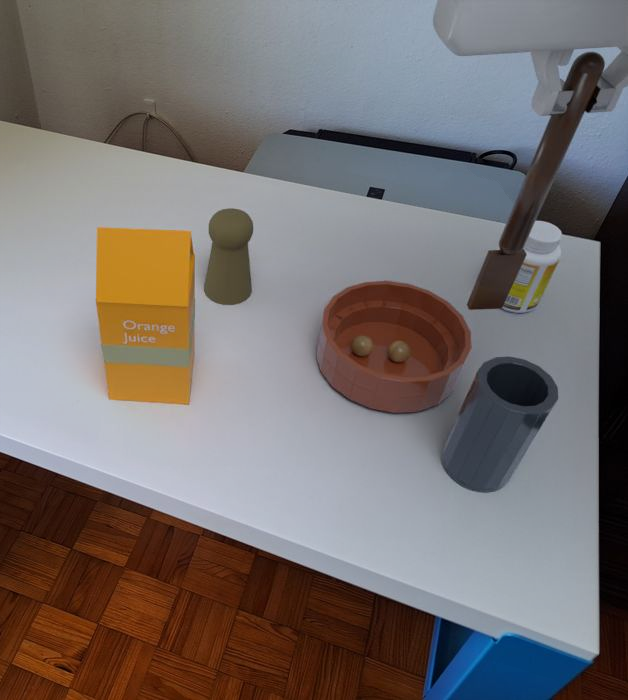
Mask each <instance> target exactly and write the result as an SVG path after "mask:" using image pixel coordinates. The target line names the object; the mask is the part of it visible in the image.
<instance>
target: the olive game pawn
mask: <svg viewBox="0 0 628 700" xmlns="http://www.w3.org/2000/svg"><path fill="white" fill-rule="evenodd" d="M208 235H209V238H210V240H211V247H210V252H209V258H208V263H207V268H206V269H207V270H206V275H205V280H204V285H203V290H204V291H203V292H204V294H205V296H206V297H207V298H208V299H209V300H210V301H212V302H214V303H216V304H218V305H219V304H220V305H224V306H234V305H238V304H239V305H240V304H241V303H243V302H245V301H247V299H249V298H250V297H251V295H252V292H253V287H252V286H253V285H252V273H251V264H250V251H249V242H250V241H251V239H252V237H253V235H254V221H253V220H252V217H250V214H248V213H247V212H246V211H244V210H243V209H238V208H233V207H232V208H231V207H230V208H222V209H220V210H218V211H216V212H215V213H214V214H213V215H212V216H211V217H210V220H209V221H208Z"/></svg>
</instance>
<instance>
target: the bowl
mask: <svg viewBox="0 0 628 700" xmlns="http://www.w3.org/2000/svg"><path fill="white" fill-rule="evenodd" d="M322 313H323V314H322V318H321V319H322V320H321V324H320V329H319V335H318V341H317V346H316V352H315V357H316V359H317V363H318V366H319V367H318V368H319V370H320V373H321V374H322V375H323V376H324V378H325V379H326V381H327V382H328V383H329V384H330V385H331V387H332V388H333V389H335V390H336V391H337V392H339V393H340V394H342V395H343V396H344V397H346V398H347V399H348V400H350V401H353V402H355V403H357V404H359V405H362V406H363V407H366V408H369V409H371V410H376V411H381V412H388V413H395V414H399V413H400V414H401V413H415V412H416V413H417V412H421V411H424V410H426V409H429V408H432V407H435V406H437V405H440V403H442V402H443V401H444V400H445V399H446V398H448V397H449V396H450V395H452V393H453V391H454V389H455V388H456V387H455V386H456V385H457V383H458V380H459V378H460V376H461V374H462V372H463V369H464V367H465V364H466V361H467V359H468V357H469V354H470V353H471V351H472V332H471V330H470V327H469V325H468V323H467V322H466V319H465V318H464V316H463V314H461V313H460V312H459V311H458V310H457V309H456V308H455V306H453V305H452V304H451V303H450V302H449V301H447V300H446V299H445V298H443V297H440V296H439V295H438V294H436V293H434V292H432V291H431V290H429V289H426V288H423V287H419V286H417V285H414V284H411V283H406V282H399V281H392V280H375V281H364V282H361V283H357V284H354V285H351V286H347V287H346V288H344V289H343V290H341V291H339V292H338V293H336V294H335V295H333V296H332V297H331V299H330V300H329V302H328V303H327V305H326V306H325V307H324V308H323V312H322ZM358 335H366V336H368V337H370V338H371V340H372V341H373V349H372V351H371V353H370V354H368V355H366V356H358V355H356V354H355V353H354V352H353V351H352V349H351V342H352V340H353V339H354V338H355V337H356V336H358ZM395 341H403V342H406V343H407V344H408V345H409V347H410V350H411V354H410V356H409V358H408V359H407V360H406V361H404V362H394V361H393V360H391V359H390V358H389V356H388V347H389V346H390V344H391V343H393V342H395Z"/></svg>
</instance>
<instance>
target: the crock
mask: <svg viewBox="0 0 628 700" xmlns="http://www.w3.org/2000/svg"><path fill="white" fill-rule="evenodd" d="M558 401H559V388H558V385H557V383H556V382H555V380H554V379H553V377H552V376H551V375H550V374H549V373H548V372H546V371H545V370H544V369H543V368H542V367H541V366H539V365H537V364H536V363H533V362H531V361H529V360H527V359H524V358H519V357H514V356H495V357H493V358H491V359H488V360H486V361H484V362H483V363H482V364H481V366H480V367H479V368H478V370H477V372H476V374H475V376H474V378H473V380H472V382H471V384H470V387H469V389H468V392H467V394H466V396H465V398H464V401H463V403H462V405H461V407H460V410H459V412H458V414H457V416H456V418H455V421H454V422H453V425H452V428H451V429H450V431H449V434H448V437H447V438H446V441H445V443H444V445H443V448H442V451H441V464H442V467H443V468H444V471H445V472H446V473H447V475H448V476H449V477H450V478H451V479H452V480H453V481H454V482H455V483H456V484H458V485H459V486H461V487H463V488H465V489H467V490H470V491H473V492H476V493H492V492H493V493H494V492H497V491H500V490H501V489H503V488H504V487H506V486H507V485H508V483H509V481H510V480H511V478H512V477H513V475H514V473H515V472H516V470H517V469H518V467H519V465H520V463H521V462H522V460H523V459H524V457H525V455H526V453H527V452H528V450H529V448H530V447H531V445H532V443H533V442H534V440H535V438H536V437H537V435H538V433H539V432H540V430H541V429H542V427H543V425H544V423H546V420H547V418H548V417H549V415H550V414H551V412H552V410H553V409H554V407H555V406H556V403H557V402H558Z"/></svg>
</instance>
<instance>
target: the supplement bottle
mask: <svg viewBox="0 0 628 700" xmlns="http://www.w3.org/2000/svg"><path fill="white" fill-rule="evenodd" d="M562 238H563V233H562V230H561V229H560V228H559V227H558V226H556V225H555V224H553V223H550V222H548V221H544V220H536V221H535V223H534V225H533V227H532V230H531V232H530V234H529V236H528V239H527V241H526V243H525V245H524V247H523V249H524V250H525V252H526V254H527V255H526V257H525V260H524V262H523V264H522V266H521V268H520V270H519V273H518V275H517V277H516V279H515V281H514V283H513V286H512V288H511V290H510V292H509V294H508V296H507V299H506V301H505V303H504V305H503V307H502V309H501V310H504V311H507V312H509V313H517V314H522V313H523V314H525V313H528V312H531V311H533V310H534V309H536V308H537V307H538V305H539V303H540V301H541V299H542V297H543V295H544V293H545V290H546V289H547V287H548V285H549V282H550V280H551V278H552V276H553V274H554V272H555V271H556V268H557V267H558V264H559V262H560V260H561V257H562V255H563V253H562V252H563V251H562V248H561V246H560V242H561V239H562Z"/></svg>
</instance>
